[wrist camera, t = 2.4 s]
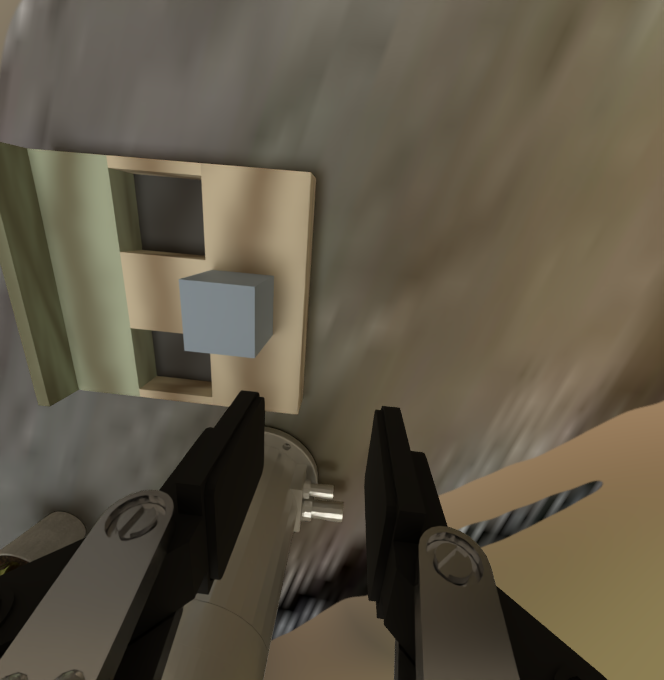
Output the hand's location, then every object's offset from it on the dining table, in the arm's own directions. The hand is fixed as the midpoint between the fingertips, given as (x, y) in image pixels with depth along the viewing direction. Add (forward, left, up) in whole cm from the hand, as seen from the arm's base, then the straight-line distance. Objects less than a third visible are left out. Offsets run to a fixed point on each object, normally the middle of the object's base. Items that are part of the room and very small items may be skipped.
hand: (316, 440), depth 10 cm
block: (+8, 0, -16) cm, 18 cm away
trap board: (+14, 0, -19) cm, 24 cm away
